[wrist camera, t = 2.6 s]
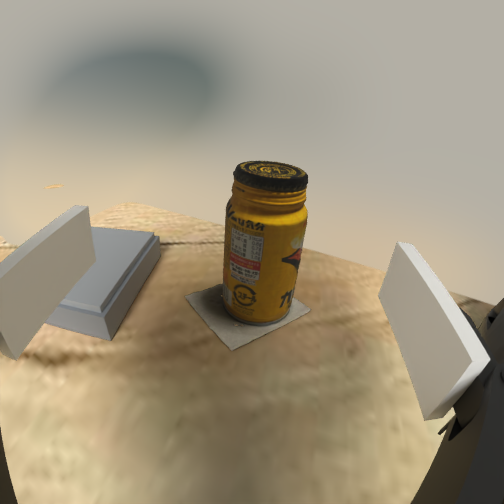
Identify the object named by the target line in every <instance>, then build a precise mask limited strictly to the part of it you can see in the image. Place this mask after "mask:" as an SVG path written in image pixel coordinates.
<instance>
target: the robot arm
mask: <svg viewBox="0 0 504 504" xmlns="http://www.w3.org/2000/svg"><path fill="white" fill-rule="evenodd" d="M95 262H96V257H95V252H94V245H93V239H92V232H91V225H90V217H89V208H88V206H77V205H75V206H73V207H72V208H70V209H69V210H68V211H66V212H65V213H63V214H62V215H60V216H59V217H58V218H56V219H55V220H54V221H52V222H51V223H50V224H48V225H47V226H45V227H44V228H43V229H41V230H40V231H39V232H37V233H36V234H35V235H34V236H32V237H31V238H30V239H28V240H27V241H26V242H25V243H23V244H22V245H21V246H20V247H18V248H17V249H16V250H15V251H14V252H12V253H11V254H10V255H9V256H8V257H6V258H5V259H4V260H3V261H2V262H1V263H0V350H1V352H2V354H3V355H5V356H7V357H9V358H11V359H14V360H16V361H17V359H18V358H19V356H20V355H21V353H22V352H23V351H24V349H25V348H26V347H27V345H28V344H29V342H30V341H31V340H32V338H33V337H34V336H35V334H36V333H37V332H38V330H39V329H40V328H41V326H42V325H43V324H44V322H45V321H46V320H47V319H48V317H49V316H50V315H51V314H52V312H53V311H54V310H55V309H56V307H57V306H58V305H59V304H60V302H61V301H62V300H63V299H64V298H65V296H66V295H67V294H68V293H69V292H70V290H71V289H72V288H73V287H74V286H75V284H76V283H77V282H78V281H79V280H80V279H81V278H82V276H83V275H84V274H85V273H86V272H87V271H88V270H89V268H90V267H91V266H92V265H93V264H94V263H95ZM378 297H379V299H380V302H381V304H382V306H383V309H384V311H385V313H386V316H387V318H388V320H389V323H390V325H391V328H392V330H393V333H394V335H395V338H396V340H397V343H398V346H399V348H400V351H401V353H402V356H403V359H404V361H405V364H406V367H407V370H408V372H409V375H410V378H411V381H412V384H413V387H414V390H415V393H416V396H417V399H418V402H419V405H420V408H421V411H422V414H423V418H424V421H425V420H432V419H438V418H443V417H444V416H445V415H446V413H447V412H448V411H449V410H450V409H451V408H452V407H453V408H454V411H455V413H456V414H455V415H454V416H453V417H452V419H451V420H450V421H449V422H448V423H447V424H446V425H445V426H444V427H443V428H442V429H441V430H440V431H439V433H438V434H439V435H441V434H442V433H443V432H444V431H445V430H446V433H445V435H444V438H443V440H442V442H441V445H440V447H439V449H438V452H437V454H436V456H435V458H434V460H433V462H432V464H431V467H430V469H429V471H428V473H427V475H426V477H425V479H424V480H423V482H422V484H421V486H420V488H419V490H418V492H417V493H416V495H415V497H414V499H413V500H412V502H411V504H504V298H503V299H502V300H501V301H500V302H499V303H498V304H497V305H496V306H495V307H494V308H493V309H492V310H491V311H490V312H489V313H488V314H487V316H486V317H485V319H484V321H483V322H482V324H481V326H480V327H479V329H477V328H476V326H475V324H474V323H473V321H472V320H471V318H470V317H469V316H468V315H467V314H466V313H465V312H464V311H463V310H462V309H461V308H459V307H458V306H457V304H456V303H455V301H454V300H453V298H452V297H451V295H450V294H449V292H448V291H447V290H446V288H445V287H444V285H443V284H442V283H441V281H440V280H439V278H438V277H437V276H436V274H435V273H434V272H433V270H432V269H431V268H430V267H429V265H428V264H427V262H426V261H425V260H424V259H423V257H422V256H421V255H420V253H419V252H418V251H417V249H416V248H415V247H414V246H413V244H409V243H403V242H397V243H396V246H395V249H394V252H393V255H392V259H391V261H390V264H389V267H388V270H387V273H386V275H385V278H384V281H383V284H382V286H381V289H380V292H379V294H378ZM0 504H18V503H17V499H16V496H15V493H14V489H13V486H12V482H11V478H10V474H9V470H8V466H7V462H6V457H5V452H4V447H3V441H2V435H1V428H0Z"/></svg>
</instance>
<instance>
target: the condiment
mask: <svg viewBox="0 0 504 504" xmlns="http://www.w3.org/2000/svg"><path fill="white" fill-rule="evenodd" d="M233 175H234V183H233V186H232V193H233V194H232V197H231V198H230V199H229V201H228V203H227V207H226V219H225V244H224V268H223V284H219V285H216V286H214V287H212V288H208V289H206V290H203V291H200V292H195V293H192V294H190V295H187V296H185V298H186V299H187V300H188V301H189V303H190V305H191V306H192V307H193V308H194V309H195V311H196V312H197V313H198V314H199V316H200V317H201V318H202V319H203V320H204V321H205V322H206V323H207V325H208V326H209V327H210V329H212V330H213V331H214V332H215V333H216V334H217V336H218V337H219V338H220V339H221V340H222V341H223V342H224V343H225V344H226V345H227V346H228V347H229V348H230V350H231V351H232V350H234V349H237V348H238V347H240V346H242V345H244V344H247V343H249V342H250V341H252V340H254V339H257V338H259V337H261V336H262V335H264V334H267V333H269V332H271V331H273V330H276V329H278V328H280V327H282V326H283V325H285V324H287V323H289V322H291V321H293V320H295V319H297V318H299V317H300V316H303V315H304V314H306V313H308V312H309V311H310V310H311V309H310V308H308V307H307V306H306V305H304V304H303V303H301V302H300V301H299V300H297V299H296V298H294V297H293V294H294V290H295V284H296V279H297V274H298V268H299V263H300V260H301V258H300V257H301V253H302V252H301V251H302V246H303V240H304V235H305V229H306V225H307V209H306V207H305V205H304V202H305V201H306V188H307V183H308V175H307V174H306V173H305V172H304V171H303V170H302V169H300V168H298V167H295V166H292V165H289V164H285V163H278V162H269V161H249V162H243V163H240V164H239V165H237V167H236V169H235V171H234V172H233ZM221 295H222V296H221ZM234 324H237V325H239V326H235V325H234ZM240 325H244V326H240Z"/></svg>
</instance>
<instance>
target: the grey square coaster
mask: <svg viewBox="0 0 504 504" xmlns="http://www.w3.org/2000/svg"><path fill="white" fill-rule="evenodd" d="M91 232H92V239H93V245H94V252H95V257H96V262H95V263H94V264H93V265H92V266H91V267H90V268H89V270H88V271H87V272H86V273H85V274H84V275H83V276H82V278H81V279H80V280H79V281H78V282H77V283H76V284H75V286H74V287H73V288H72V289H71V290H70V292H69V293H68V294H67V295H66V296H65V298H64V299H63V300H62V301H61V302H60V304H59V305H58V306H57V307H56V309H55V310H54V311H53V312H52V314H51V315H50V316H49V317H48V319H47V320H46V321H45V322H44V323H47V324H50V325H53V326H57V327H60V328H64V329H67V330H71V331H74V332H78V333H82V334H86V335H90V336H93V337H98V338H102V339H106V340H110V341H111V340H112V338H113V336H114V334H115V333H116V331H117V329H118V327H119V325H120V324H121V322H122V320H123V318H124V317H125V315H126V313H127V311H128V310H129V308H130V306H131V304H132V303H133V301H134V299H135V298H136V296H137V294H138V292H139V291H140V289H141V287H142V286H143V284H144V282H145V281H146V279H147V277H148V276H149V274H150V273H151V271H152V269H153V268H154V266H155V264H156V263H157V261H158V260H159V258H160V256H161V253H160V239H159V236H154V232H144V231H133V230H122V229H111V228H100V227H91Z"/></svg>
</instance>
